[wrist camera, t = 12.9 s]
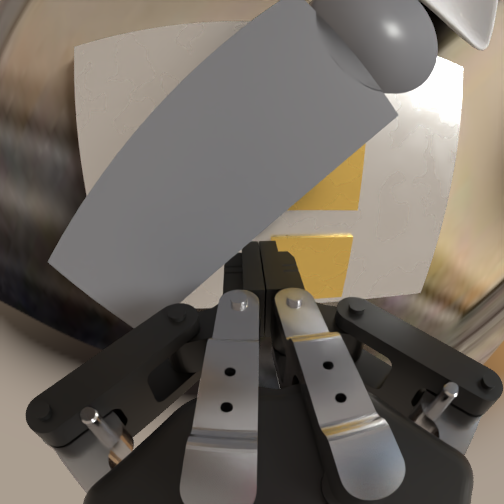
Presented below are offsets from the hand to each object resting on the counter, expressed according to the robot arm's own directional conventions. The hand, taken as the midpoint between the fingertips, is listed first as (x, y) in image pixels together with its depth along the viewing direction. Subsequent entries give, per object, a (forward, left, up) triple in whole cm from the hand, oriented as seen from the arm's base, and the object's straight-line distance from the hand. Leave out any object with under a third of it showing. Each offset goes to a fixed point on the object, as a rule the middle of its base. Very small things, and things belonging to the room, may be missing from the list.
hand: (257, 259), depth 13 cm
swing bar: (+1, -6, 0) cm, 6 cm away
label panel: (-2, -3, -4) cm, 5 cm away
